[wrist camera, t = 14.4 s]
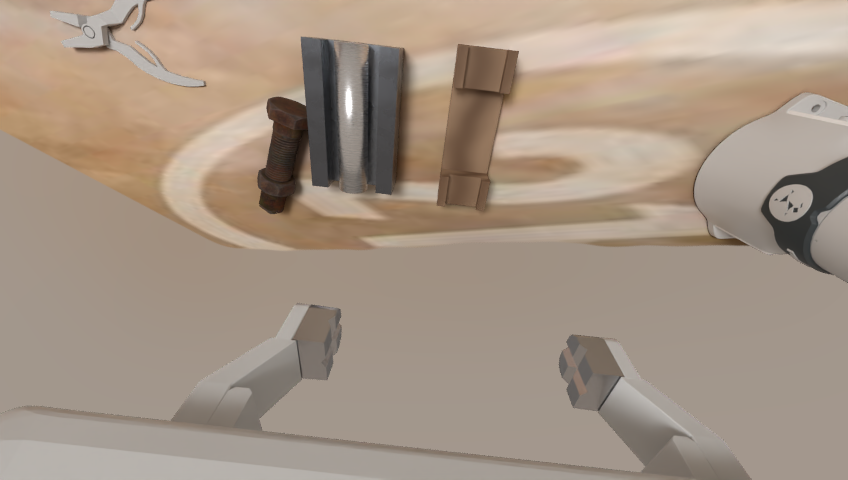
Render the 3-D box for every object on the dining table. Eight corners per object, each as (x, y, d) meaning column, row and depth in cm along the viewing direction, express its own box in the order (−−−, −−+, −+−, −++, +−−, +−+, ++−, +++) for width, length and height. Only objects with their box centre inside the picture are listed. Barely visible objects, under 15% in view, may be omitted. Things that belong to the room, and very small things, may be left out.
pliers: (200, 88, 39) (76, 78, 39) (208, 87, 40) (89, 77, 40) (173, -16, 34) (31, -27, 34) (183, -13, 35) (47, -25, 35)
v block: (403, 48, 37) (399, 48, 33) (395, 181, 45) (391, 194, 41) (315, 37, 36) (300, 36, 33) (323, 173, 45) (312, 185, 41)
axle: (340, 41, 35) (328, 40, 32) (372, 44, 35) (363, 44, 32) (344, 181, 43) (335, 191, 40) (370, 184, 43) (363, 194, 40)
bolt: (277, 195, 49) (299, 98, 41) (299, 214, 48) (325, 118, 40) (240, 202, 44) (256, 94, 37) (263, 223, 43) (285, 116, 35)
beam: (511, 50, 36) (518, 51, 33) (480, 198, 45) (483, 211, 42) (457, 44, 36) (458, 44, 33) (437, 193, 45) (437, 205, 42)
